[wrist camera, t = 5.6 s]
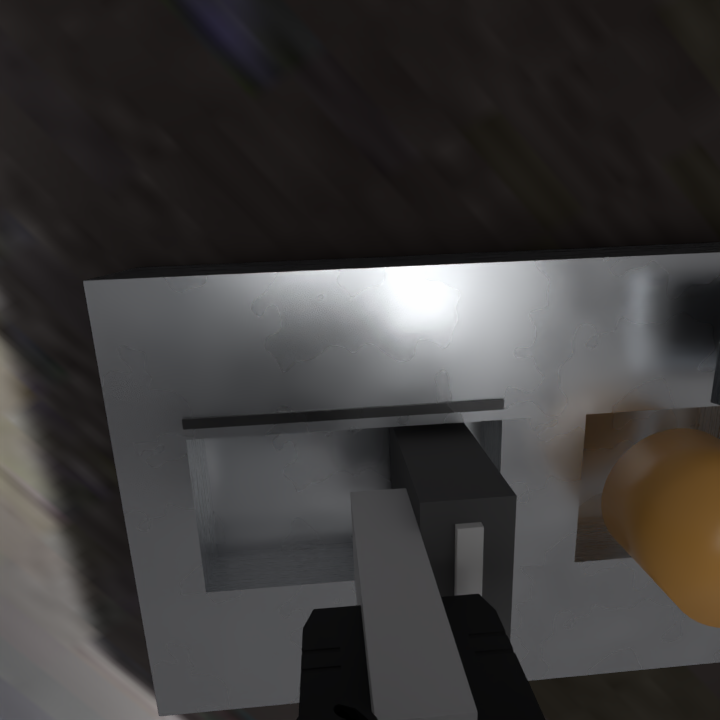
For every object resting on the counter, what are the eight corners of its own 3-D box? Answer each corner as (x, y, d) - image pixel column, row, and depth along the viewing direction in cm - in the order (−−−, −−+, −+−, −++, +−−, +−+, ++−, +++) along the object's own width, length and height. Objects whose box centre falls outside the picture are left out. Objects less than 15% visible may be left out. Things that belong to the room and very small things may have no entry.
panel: (189, 623, 21) (153, 733, 16) (136, 267, 17) (71, 283, 13) (850, 567, 22) (980, 652, 18) (929, 233, 19) (1118, 236, 14)
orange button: (595, 560, 16) (657, 635, 13) (607, 432, 15) (676, 484, 12) (726, 549, 16) (814, 620, 13) (747, 423, 15) (849, 471, 12)
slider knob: (392, 533, 18) (422, 663, 12) (389, 418, 17) (422, 507, 11) (456, 528, 18) (513, 655, 13) (457, 413, 17) (520, 500, 11)
